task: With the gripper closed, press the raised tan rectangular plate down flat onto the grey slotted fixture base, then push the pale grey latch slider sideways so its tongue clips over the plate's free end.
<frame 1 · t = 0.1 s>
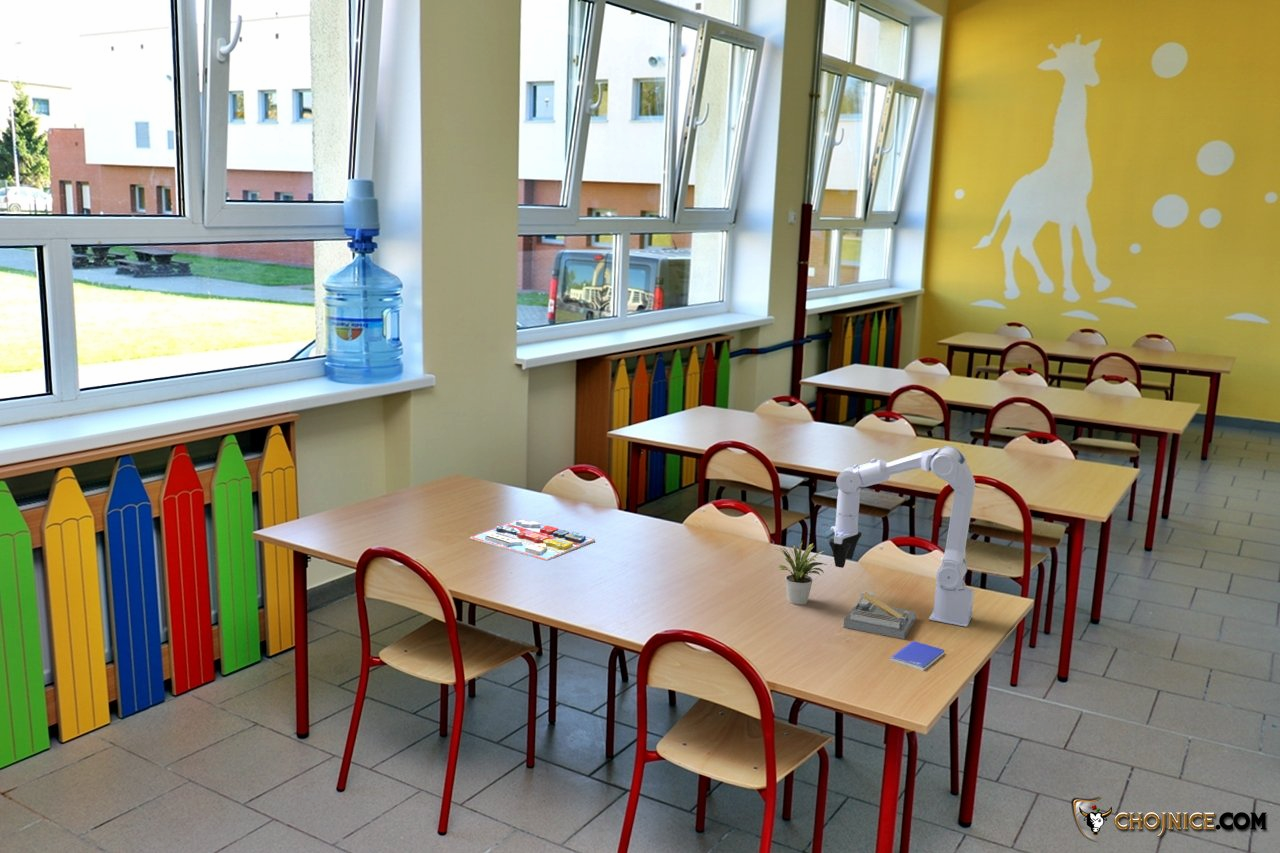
hand: (843, 562, 289), 10 cm above the table, fingers open, 7 cm apart
hard drive: (917, 660, 256), on the table
tan rectangular plate: (883, 606, 273), point 5 cm above the table, hinge at 25.0°
latch: (865, 600, 281), point 4 cm above the table, slide at 0.0 cm
grey slotted fixture base: (880, 623, 275), on the table
puzzle board: (532, 542, 331), on the table
house plant: (793, 602, 288), on the table
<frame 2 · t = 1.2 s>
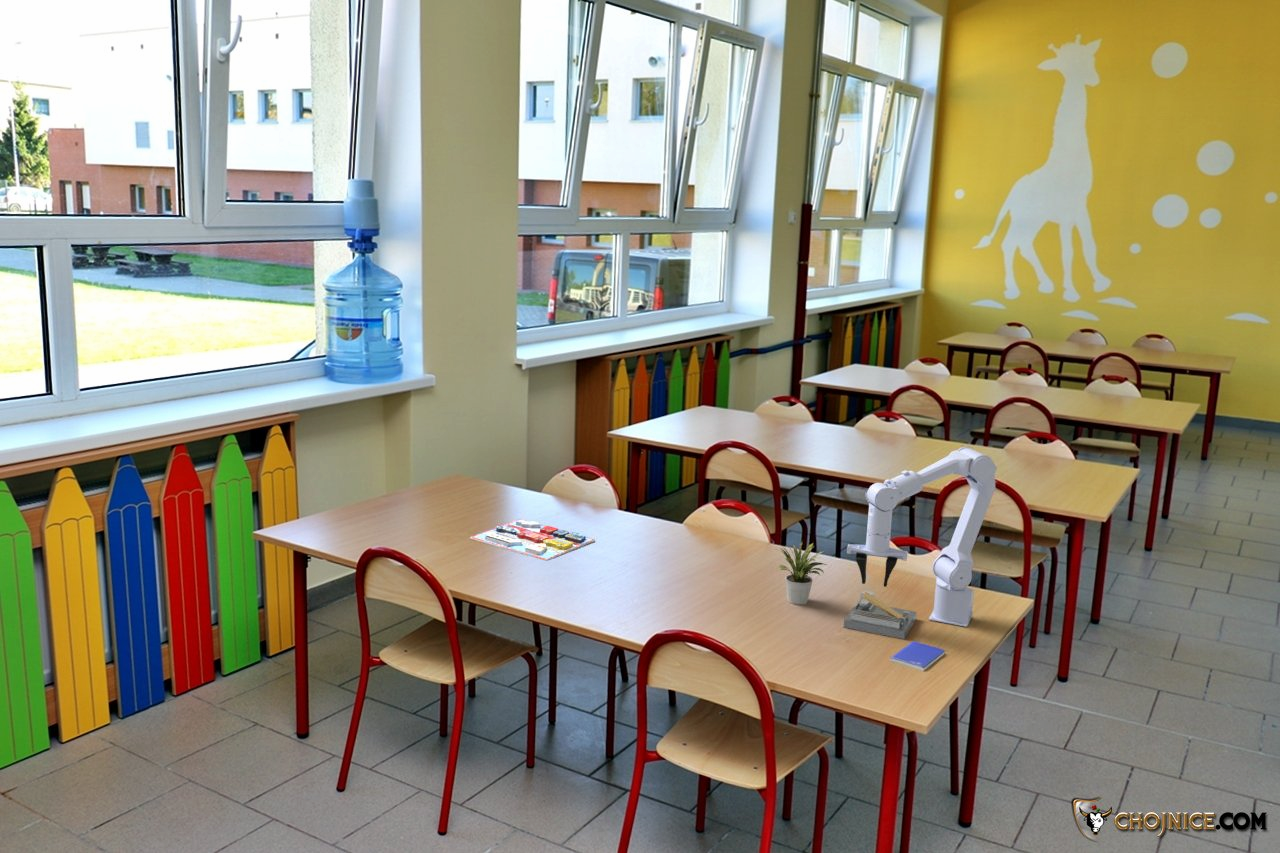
hand: (874, 583, 273), 10 cm above the table, fingers open, 5 cm apart
nothing on the table moved.
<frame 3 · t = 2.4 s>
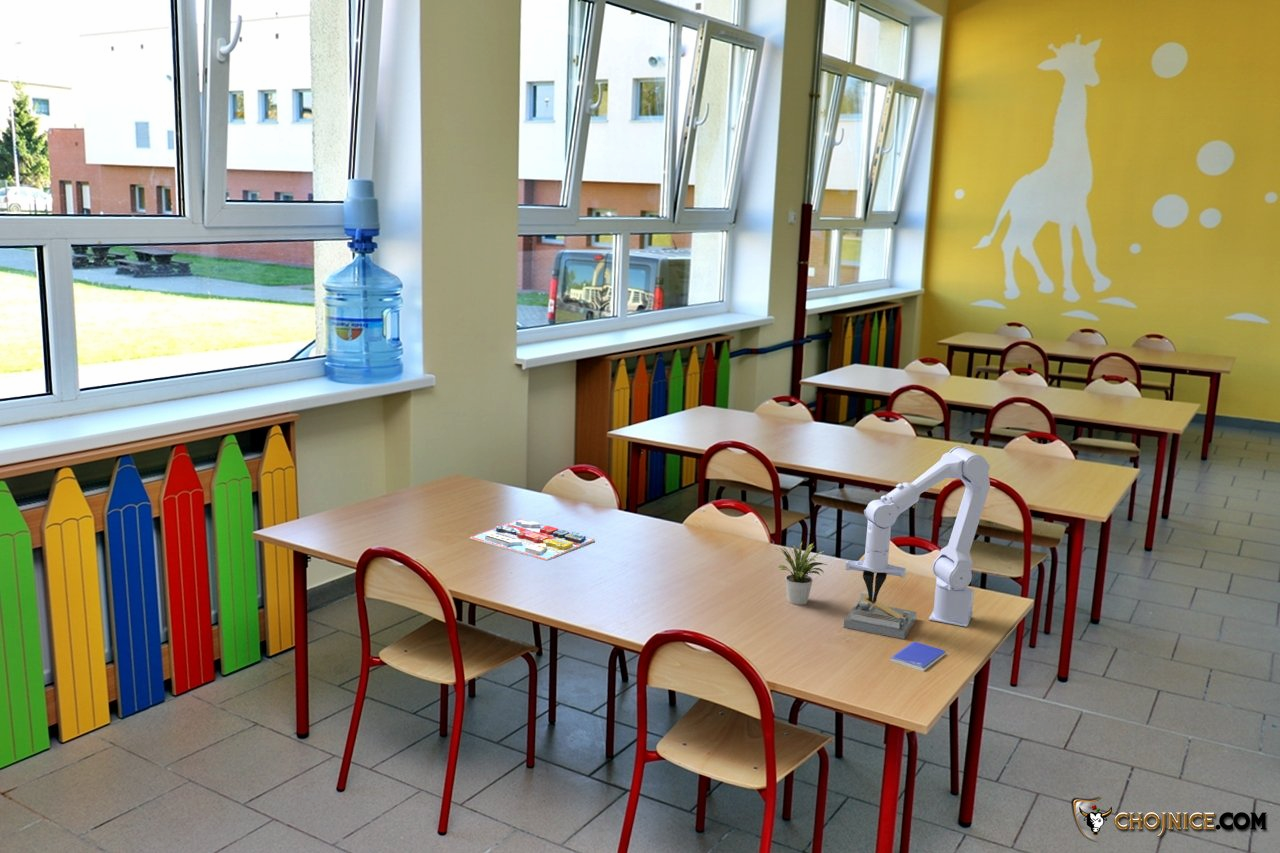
hand: (872, 600, 274), 6 cm above the table, fingers closed
tan rectangular plate: (882, 607, 273), point 5 cm above the table, hinge at 22.2°, touching gripper
everything else where it was.
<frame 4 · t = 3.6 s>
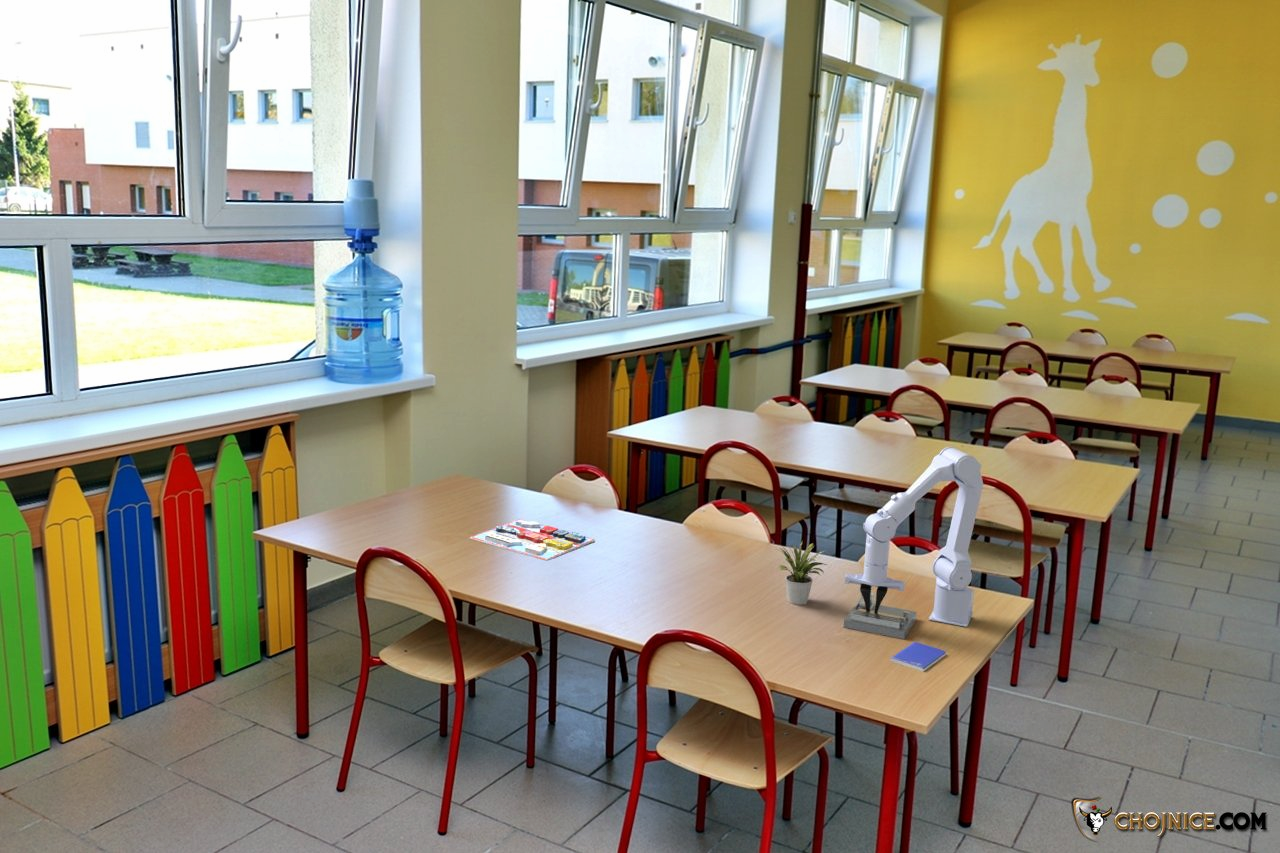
hand: (872, 613, 275), 3 cm above the table, fingers closed on tan rectangular plate
tan rectangular plate: (880, 615, 274), point 2 cm above the table, hinge at 0.5°, touching gripper
everything else where it was.
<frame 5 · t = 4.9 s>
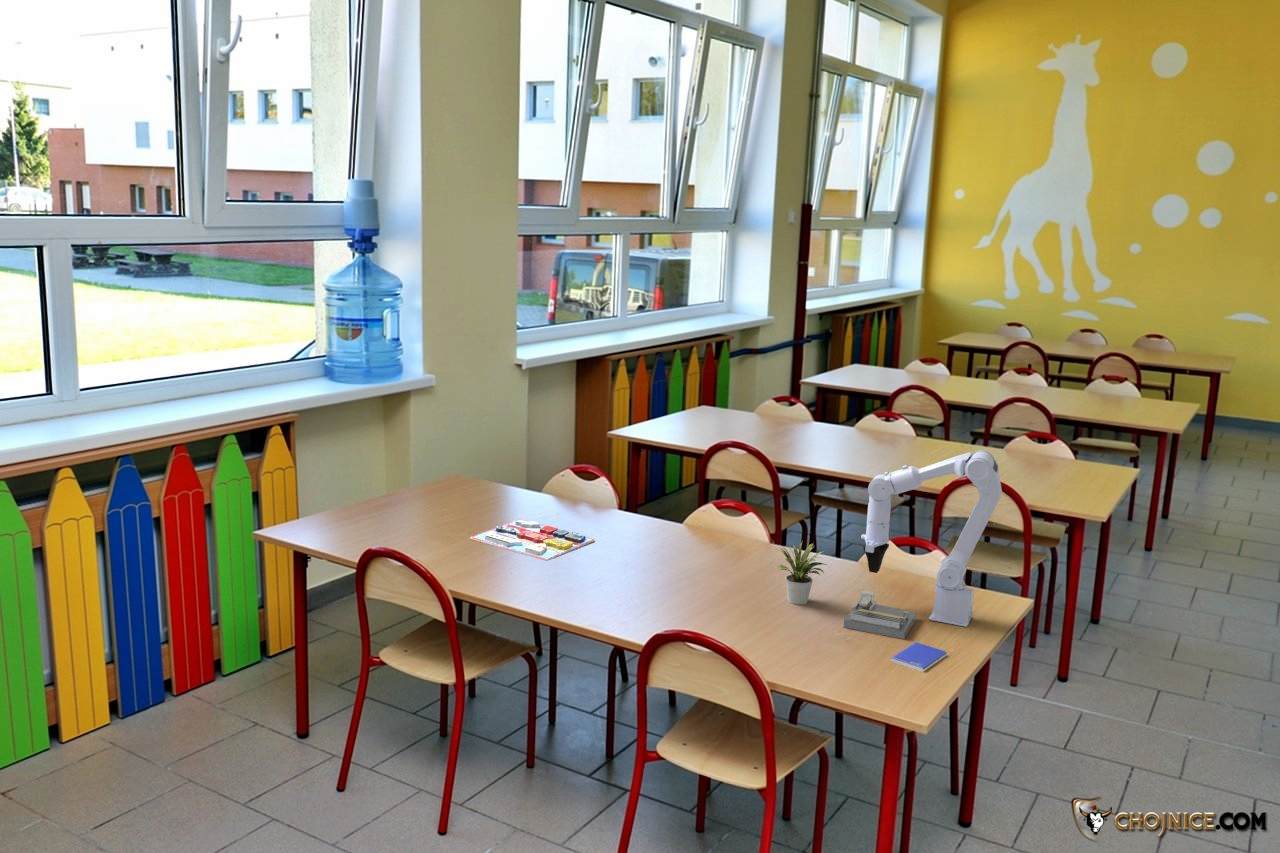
hand: (874, 571, 285), 9 cm above the table, fingers closed
tan rectangular plate: (880, 615, 274), point 2 cm above the table, hinge at 0.5°
everything else where it was.
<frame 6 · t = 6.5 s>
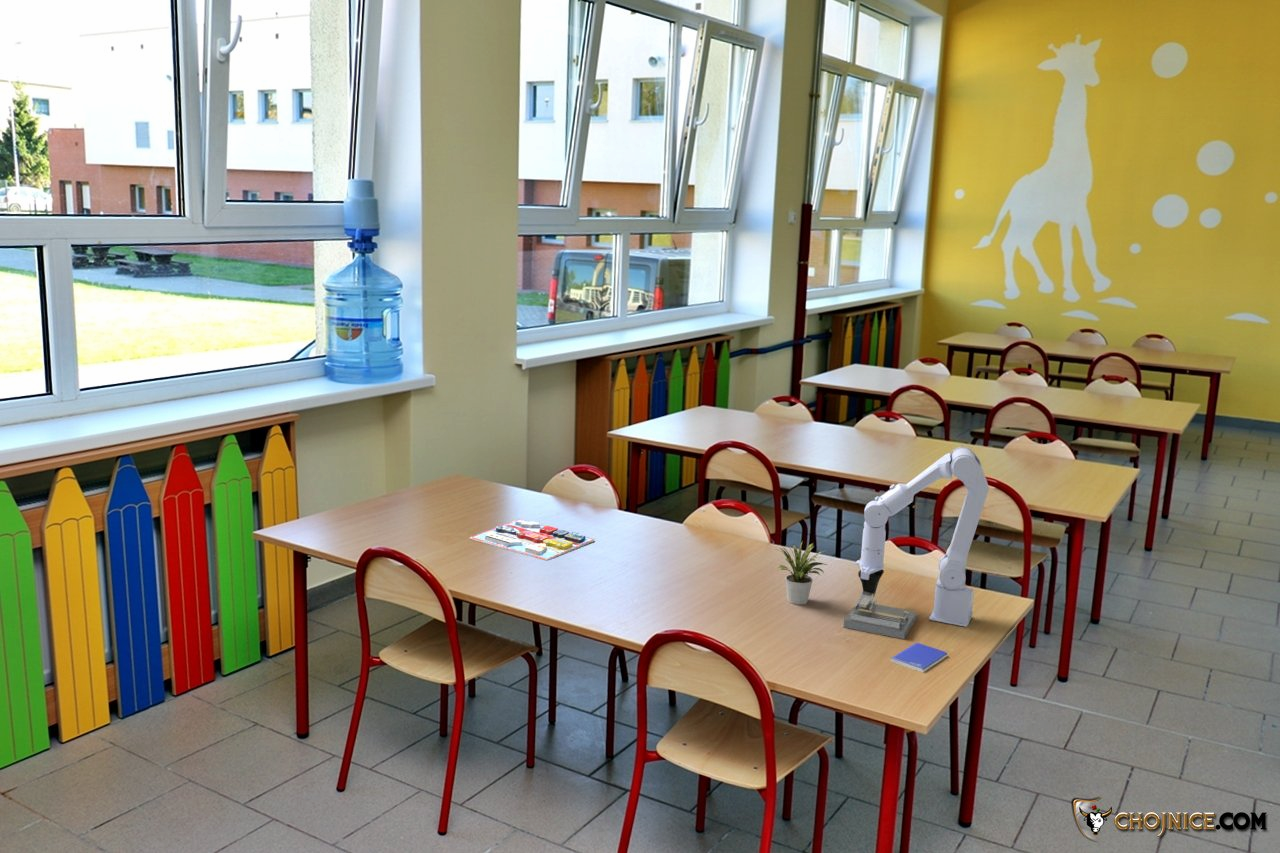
hand: (869, 597, 284), 3 cm above the table, fingers closed
latch: (865, 601, 280), point 4 cm above the table, slide at 0.8 cm, touching gripper
everything else where it was.
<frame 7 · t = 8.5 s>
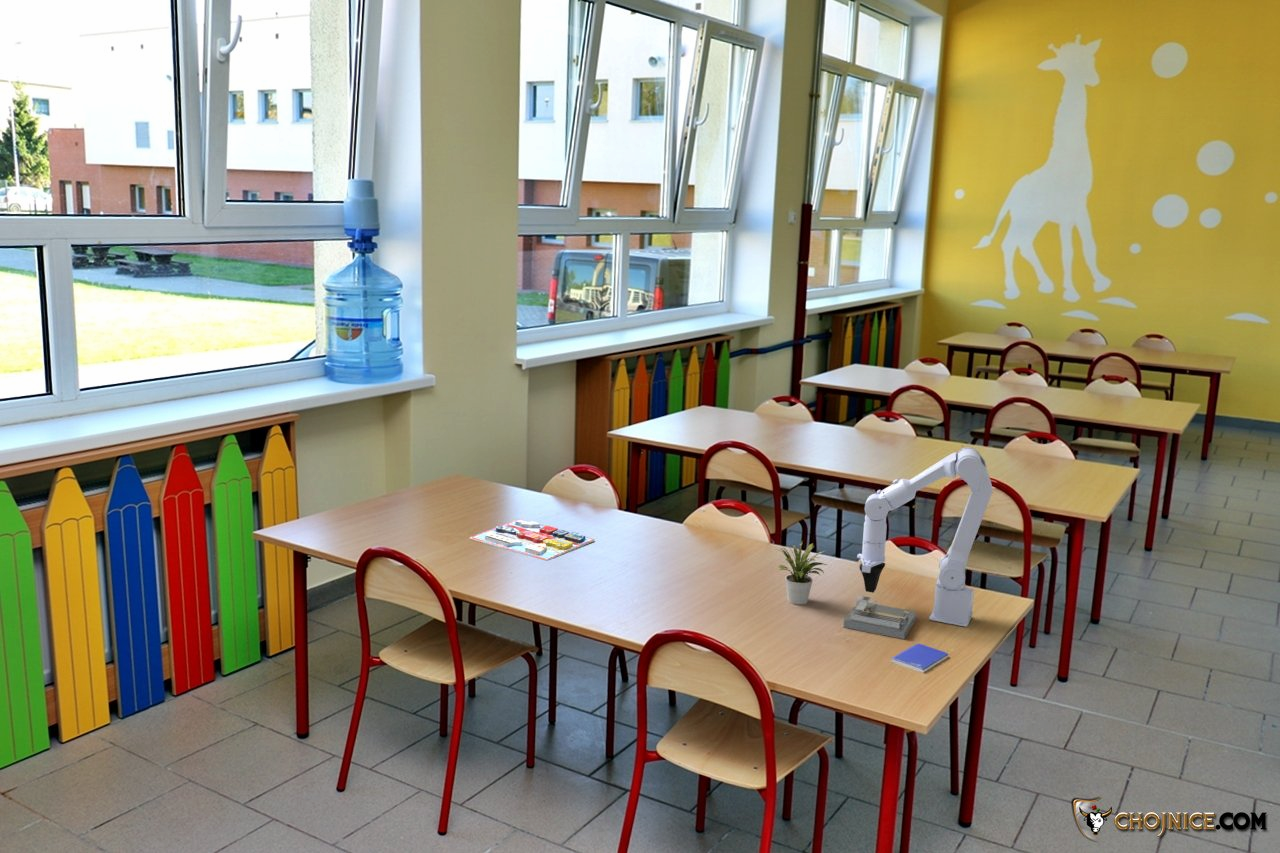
hand: (870, 590, 284), 5 cm above the table, fingers closed
tan rectangular plate: (880, 615, 274), point 2 cm above the table, hinge at 0.5°, touching latch
latch: (861, 605, 277), point 4 cm above the table, slide at 4.3 cm, touching tan rectangular plate
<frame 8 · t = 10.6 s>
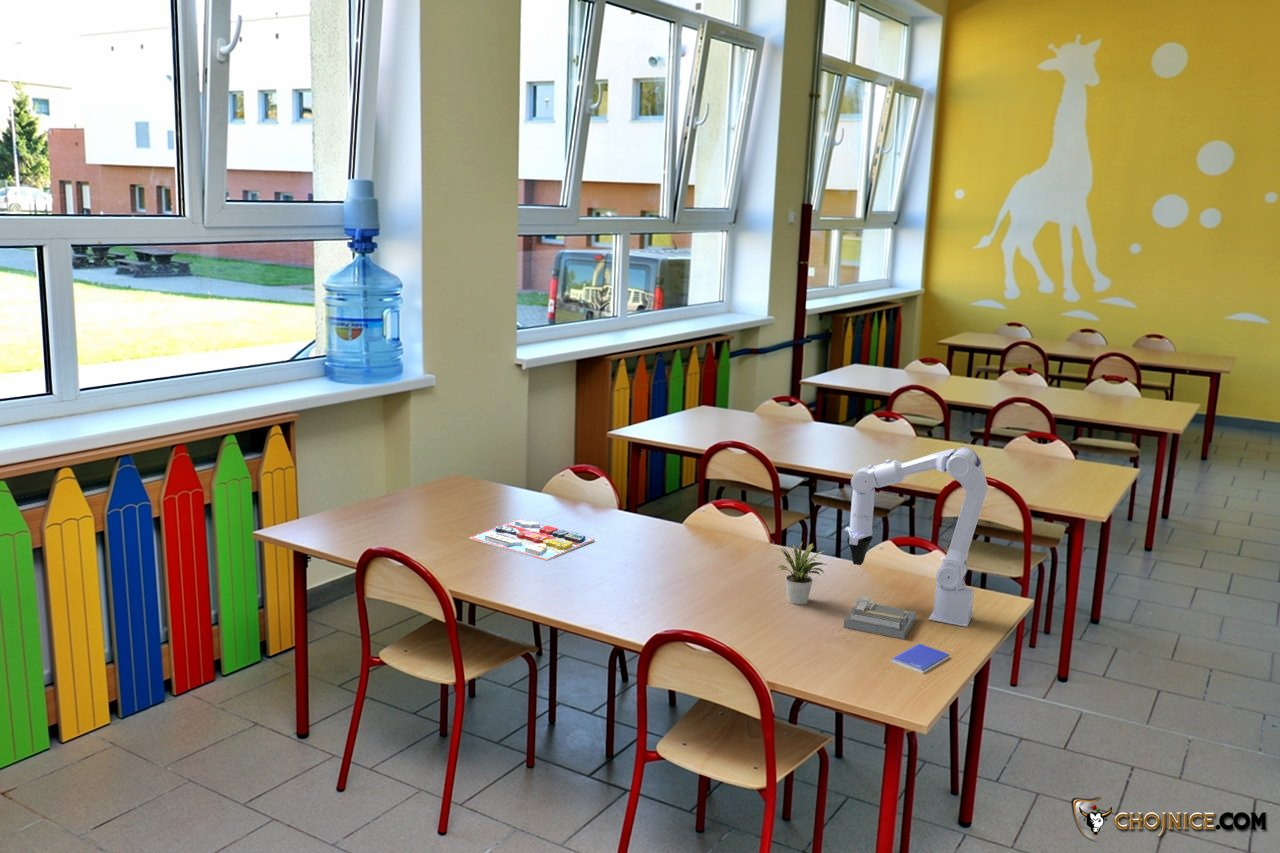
hand: (858, 563, 288), 10 cm above the table, fingers closed
at the end: tan rectangular plate at +0° (first picture: +25°); latch slide at 4.3 cm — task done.
